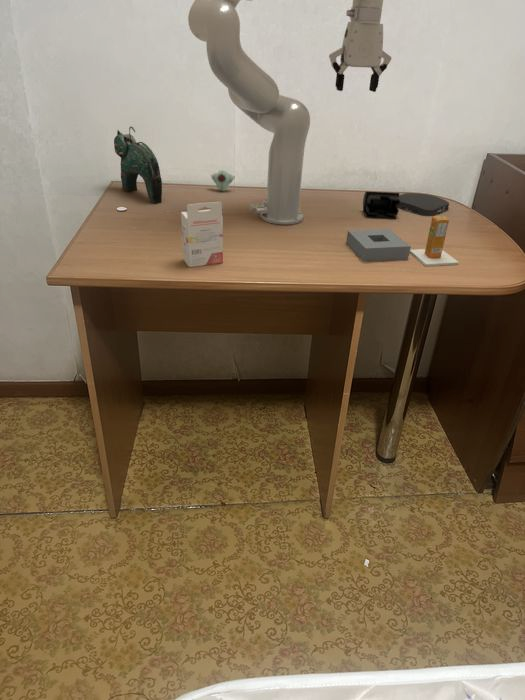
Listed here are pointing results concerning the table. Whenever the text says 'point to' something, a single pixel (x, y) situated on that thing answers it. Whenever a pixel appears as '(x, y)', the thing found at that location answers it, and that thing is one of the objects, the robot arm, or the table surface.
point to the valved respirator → (222, 179)
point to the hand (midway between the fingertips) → (356, 90)
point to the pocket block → (377, 245)
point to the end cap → (381, 205)
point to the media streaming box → (422, 204)
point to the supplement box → (436, 236)
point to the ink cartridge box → (202, 234)
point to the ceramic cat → (138, 166)
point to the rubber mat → (427, 261)
